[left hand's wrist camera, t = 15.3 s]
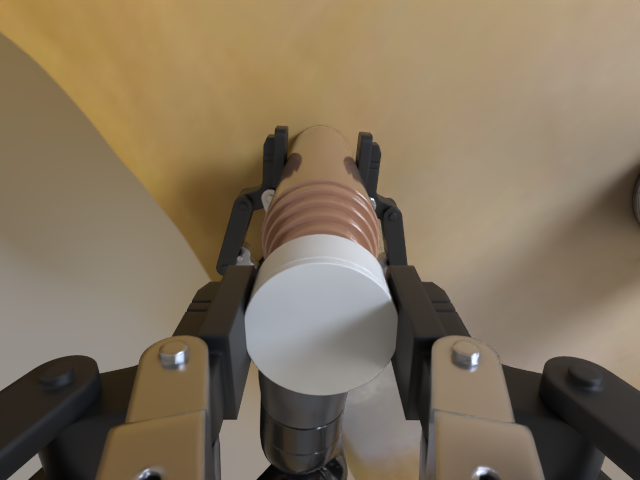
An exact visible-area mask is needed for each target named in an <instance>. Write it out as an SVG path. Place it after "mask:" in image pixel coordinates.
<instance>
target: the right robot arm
mask: <svg viewBox="0 0 640 480" xmlns="http://www.w3.org/2000/svg"><path fill="white" fill-rule="evenodd" d="M372 140H373V137H372V134H371V133H368V132H359V136H358V144H357V153H356V162H355V163H356V166H357V168H358V171H359V173H360V176H361V178H362V181H363V183H364V186H365V188H366V191H367V193H368V196H369V198H370V201H371V203H372V206H373V208H374V211H375V213H376V216H377V218H378V219H380V220H381V227H382V235H383V242H384V250H385V252H383V253H380V254H379V255H378V258H377V261H378V262H379V264H380V265H381V267H382V269H383V271H384V273H385V276H386V270H387V266H407V257H406V248H405V239H404V230H403V221H402V214H401V212H400V210H399V209H398V208H397V205H396V203H395V202H394V200H393V199H391V198H384V197H382V196H380V195H378V194H377V193H376V189H377V181H378V174H379V166H380V159H381V152H380V148H379V145H378V144H377V143H376V142H372ZM287 149H288V126H277V127H276V128H275V135H273V134H269V136H268V137H267V139H266V141H265V143H264V153H263V154H264V155H263V184H261V185H260V186H258V187H254V188H245V189H243V190H242V192H241V193H240V194H239V196H238V197H237V199H236V200H235V202H234V205H233V209H232V212H231V216H230V219H229V223H228V227H227V230H226V234H225V237H224V241H223V244H222V248H221V252H220V255H219V259H218V262H217V266H216V269H217V272H218V273H219V274H220V275H223V276H224V274H225V272H226V270H227V268H228V266H229V265H254V266H255V269H256V276H257V274H258V271H259V269H260V267H261V266H262V264H263V262H264V261H265V259H264V256H263V257H262V258H261V259H260V260H259V261H256V260H255V259H254V258H253V256H252V247H251V245H250V244H248V243H246V242H244V241H245V237H246V234H247V231H248V227H249V224H250V221H251V218H252V214H253V211H254V210H258V209H261V208H264V209H265V212H267V210H268V207H269V205H270V202H271V200H272V197H273V195H274V192H275V189H276V187H277V184H278V182H279V179H280V177H281V174H282V172H283V169H284V167H285V164H286V161H287ZM633 207H634V212H635V216H636V218H637V220H638V222H639V224H640V176H639V178H638V181H637V183H636V186H635V190H634V196H633ZM258 372H259V385H260V391H261V410H260V438H261V445H262V449H263V451H264V454H265V456H266V458H267V459H268V461H269V462H270V463H271V465H270V466H269V467H268V468H267V469H266V470H265V471H264V473H263V474H262V475H260V477H259V478H258V479H257V480H347V475H348V470H347V463H346V458H345V452H344V446H343V442H342V438H341V429H342V422H343V415H344V407H345V400H346V397H347V394H348V391H347V392H344V393H339V394H334V395H309V394H303V393H299V392H295V391H292V390H289V389H286V388H284V387H282V386H280V385H278V384H276V383H275V382H273V381H272V380H270V379H269V378H268V377H266V376H265V375H264V374H263V373H262V372H261V371H260V370H259V371H258Z"/></svg>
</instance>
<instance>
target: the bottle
mask: <svg viewBox="0 0 640 480" xmlns="http://www.w3.org/2000/svg"><path fill="white" fill-rule="evenodd" d="M315 234H328V235H335V236H339V237H343V238H346V239H349V240H351V241H354V242H355V243H357V244H359V245H361V246H362V247H364V248H365V249H366V250H368V251H369V252H370V253H371V254H372V255H373V256H374V257H375V258H376V260H377V258H378V255H379V251H380V227H379V222H378V218H377V216H376V213H375V211H374V208H373V206H372V203H371V201H370V198H369V196H368V193H367V191H366V188H365V186H364V183H363V181H362V178H361V176H360V173H359V171H358V168H357V166H356V163H355V161H354V158H353V156H352V153H351V151H350V148H349V146H348V143H347V141H346V140H345V138H344V137H343V136H342V135H341V134H340V133H339V132H338V131H336V130H335V129H333V128H330V127H327V126H314V127H311V128H308V129H306V130H305V131H303V132H302V133H301V134H300V135H299V136H298V137H297V138H296V140H295V142H294V144H293V146H292V149H291V151H290V154H289V156H288V159H287V161H286V164H285V167H284V169H283V172H282V174H281V177H280V179H279V182H278V184H277V187H276V189H275V192H274V195H273V197H272V200H271V202H270V205H269V207H268V210H267V212H266V215H265V217H264V221H263V225H262V240H261V242H262V252H263V256H264V259H265V260H266V259H267V257H268V256H269V255H270V254H271V253H272V252H273V251H275V250H276V249H277V248H279V247H280V246H281V245H283V244H285V243H287V242H289V241H291V240H293V239H296V238H299V237H302V236H307V235H315Z"/></svg>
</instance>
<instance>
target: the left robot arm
mask: <svg viewBox="0 0 640 480" xmlns="http://www.w3.org/2000/svg"><path fill="white" fill-rule="evenodd" d="M255 279H256V269H255V266H254V265H229V266H228V268H227V270H226V272H225V274H224V276H223V278H222V280H221V282H209V283H208V284H206V285H205V286H204V287H202V288H201V289H199V290H198V291H197V293H196V295H195V297H194V298H193V300H192V303H191V304H190V305H189V307H188V309H187V312H185V314H184V316H183V318H182V320H181V321H180V323H179V325H178V327H177V328H176V330H175V332H174V334H173V335H172V337H169V338H166V339H163V340H160V341H158V342H156V343H154V344H153V345H151V346H150V347H149V348H147V349H146V350H145V351H144V352H143V354H142V355H141V358H140V360H139V364H138V365H136V366H133V367H129V368H124V369H119V370H115V371H110V372H105V373H100V374H99V370H98V366H97V363H96V361H95V360H94V359H92V358H90V357H87V356H81V355H74V356H66V357H61V358H58V359H54V360H51V361H49V362H46V363H44V364H42V365H40V366H38V367H36V368H35V369H33V370H32V371H30V372H29V373H27V374H26V375H24V376H23V377H21V378H20V379H18V380H17V381H15V382H14V383H12V384H11V385H9V386H8V387H6V388H4V389H3V390H1V391H0V480H7V479H8V478H9V477H10V476H11V475H12V474H14V473H15V472H16V471H17V470H18V469H19V468H21V467H22V466H23V465H24V464H25V463H26V462H28V461H29V460H30V459H31V458H32V457H33V456H35V455H36V454H37V453H38V455H39V458H40V461H41V464H42V466H43V467H42V468H41V469H40V470H39V471H37V472H36V473H35V474H34V475H33V476H32V477H31V478H30V479H29V480H221V466H220V442H219V432H220V429H221V426H222V422H223V420H236V419H237V416H238V412H239V408H240V404H241V400H242V396H243V392H244V387H245V383H246V379H247V375H248V371H249V367H250V362H251V358H250V356H249V354H248V352H247V344H246V331H245V319H244V314H245V310H246V307H247V304H248V301H249V298H250V294H251V291H252V288H253V285H254V282H255ZM386 279H387V282H388V285H389V288H390V291H391V294H392V297H393V300H394V303H395V307H396V309H397V312H398V324H397V336H396V348H395V352H394V355H393V357H392V358H391V362H392V366H393V370H394V374H395V378H396V382H397V386H398V390H399V394H400V398H401V402H402V406H403V410H404V414H405V418H406V420H420V423H421V426H422V434H421V442H420V466H419V480H612V479H610V478H609V477H608V476H607V475H606V474H605V473H604V472H603V471H602V470H601V467H602V464H603V461H604V458H605V456H607V457H608V458H609V459H610V460H611V461H612V462H614V463H615V464H616V465H617V466H618V467H619V468H621V469H622V470H623V471H624V472H625V473H626V474H628V475H629V476H630V477H631V478H632V479H633V480H640V391H639V390H637V389H636V388H634V387H632V386H631V385H629V384H628V383H626V382H625V381H623V380H622V379H620V378H619V377H617V376H616V375H614V374H613V373H611V372H610V371H608V370H607V369H605V368H603V367H601V366H599V365H597V364H595V363H593V362H590V361H587V360H584V359H580V358H575V357H566V356H562V357H555V358H552V359H550V360H548V361H547V362H546V363H545V365H544V369H543V373H542V374H541V373H536V372H531V371H526V370H521V369H517V368H513V367H509V366H506V365H503V364H501V360H500V357H499V355H498V354H497V352H496V351H495V350H494V349H493V348H491V347H490V346H489V345H487V344H486V343H484V342H482V341H480V340H477V339H474V338H471V336H470V334H469V333H468V331H467V329H466V327H465V326H464V324H463V322H462V320H461V319H460V317H459V315H458V313H457V312H455V308H454V306H453V305H452V303H450V300H449V298H448V296H447V294H446V293H445V291H444V290H443V289H441V288H440V287H438V286H437V285H436V284H434V283H433V282H421V280H420V278H419V276H418V274H417V271H416V269H415V267H414V266H387V270H386Z"/></svg>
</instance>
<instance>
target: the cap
mask: <svg viewBox="0 0 640 480" xmlns="http://www.w3.org/2000/svg"><path fill="white" fill-rule="evenodd" d="M244 319H245V331H246V344H247V352H248V354H249V356H250V358H251V360H252V361H253V363H254V364H255V365H256V367H257V368H258V369H259V370H260V371H261V372H262V373H263V374H264V375H265V376H266V377H268V378H269V379H270V380H272V381H273V382H275V383H276V384H278V385H280V386H282V387H284V388H286V389H289V390H292V391H295V392H299V393H303V394H309V395H334V394H339V393H344V392H347V391H350V390H353V389H356V388H358V387H360V386H362V385H364V384H366V383H367V382H369V381H371V380H372V379H373V378H375V377H376V376H377V375H378V374H379V373H380V372H381V371H382V370H383V369H384V368H385V367H386V366H387V364H388V363H389V361H390V360H391V358H392V357H393V355H394V352H395V348H396V336H397V324H398V312H397V309H396V307H395V303H394V300H393V297H392V294H391V291H390V288H389V285H388V282H387V279H386V276H385V273H384V271H383V269H382V267H381V265H380V264H379V262H378V261H377V260H376V258H375V257H374V256H373V255H372V254H371V253H370V252H369V251H368V250H366V249H365V248H364V247H362V246H361V245H359V244H357V243H355V242H354V241H351V240H349V239H346V238H343V237H339V236H335V235H328V234H315V235H307V236H302V237H299V238H296V239H293V240H291V241H289V242H287V243H285V244H283V245H281V246H280V247H279V248H277V249H276V250H275V251H273V252H272V253H271V254H270V255H269V256H268V257H267V259H266V260H265V261H264V262H263V264H262V266H261V267H260V269H259V271H258V274H257V276H256V279H255V282H254V285H253V288H252V291H251V294H250V298H249V301H248V304H247V307H246V310H245V314H244Z"/></svg>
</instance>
